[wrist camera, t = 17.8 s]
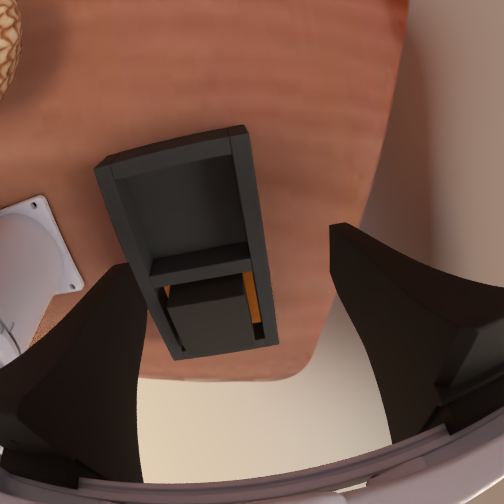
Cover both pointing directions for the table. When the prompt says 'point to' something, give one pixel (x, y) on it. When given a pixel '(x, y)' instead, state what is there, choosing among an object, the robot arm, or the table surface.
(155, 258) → the socket pad
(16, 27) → the acorn
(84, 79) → the table surface
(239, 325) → the black pad
